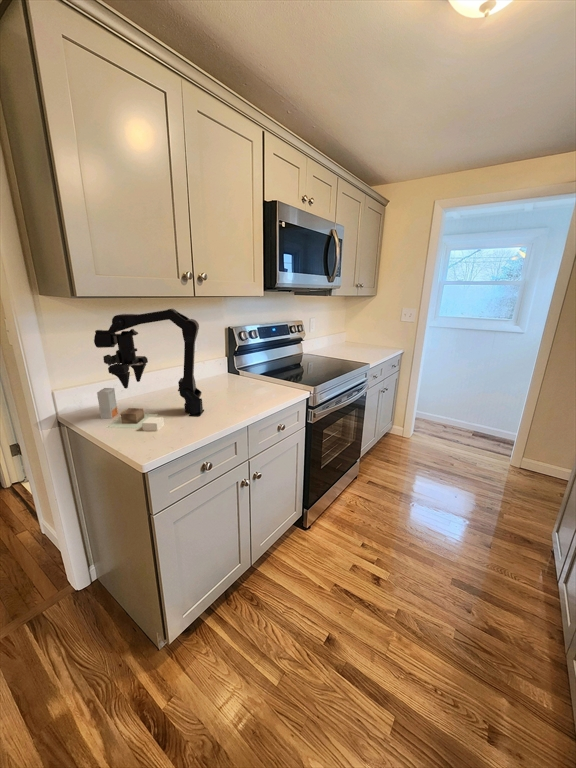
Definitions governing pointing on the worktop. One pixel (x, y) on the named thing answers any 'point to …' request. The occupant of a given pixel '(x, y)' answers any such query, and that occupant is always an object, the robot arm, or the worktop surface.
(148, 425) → the brick cream
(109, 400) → the skincare box
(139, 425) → the baseplate
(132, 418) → the brick walnut
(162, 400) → the worktop surface
